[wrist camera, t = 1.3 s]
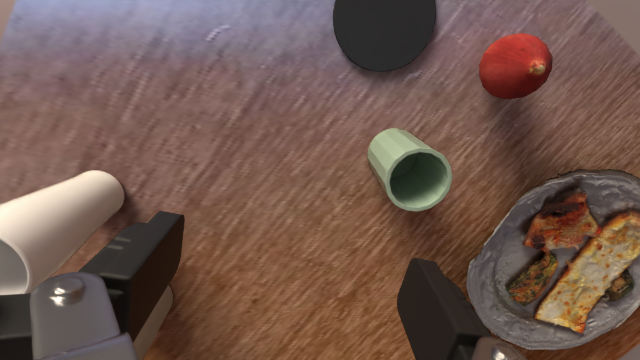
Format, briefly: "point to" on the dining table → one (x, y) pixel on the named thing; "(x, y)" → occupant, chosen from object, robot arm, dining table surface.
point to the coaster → (383, 31)
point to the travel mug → (153, 324)
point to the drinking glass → (52, 227)
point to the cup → (409, 169)
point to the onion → (515, 66)
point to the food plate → (562, 262)
